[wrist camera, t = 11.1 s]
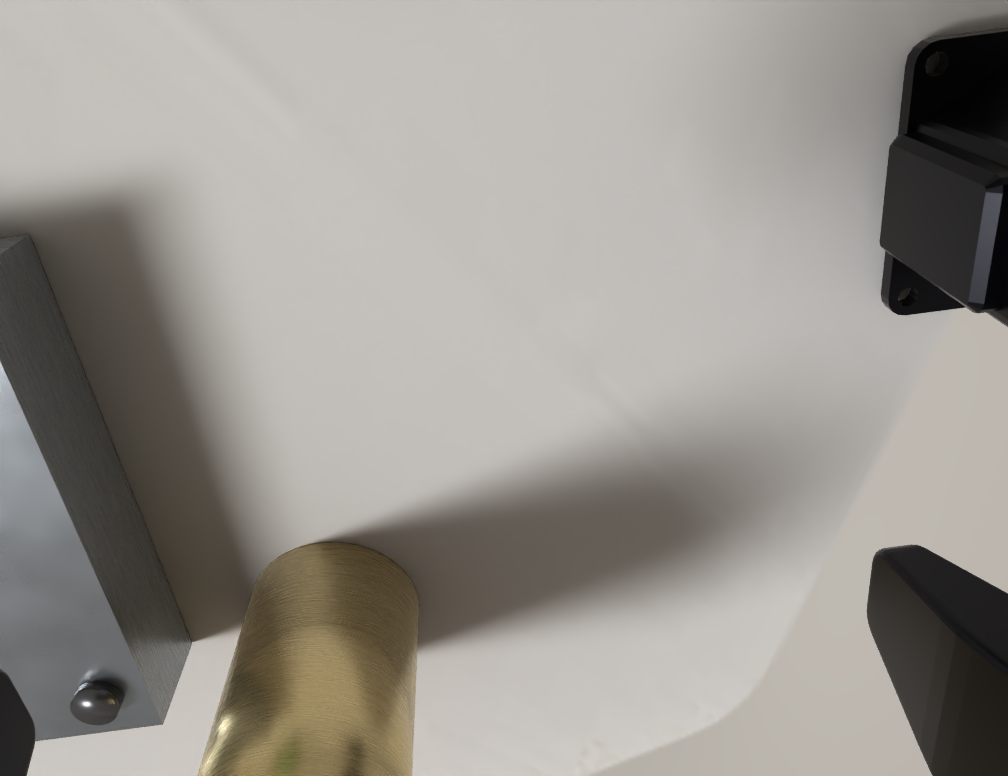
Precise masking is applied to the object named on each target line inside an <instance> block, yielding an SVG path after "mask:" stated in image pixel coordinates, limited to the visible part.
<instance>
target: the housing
mask: <svg viewBox="0 0 1008 776" xmlns="http://www.w3.org/2000/svg"><path fill="white" fill-rule="evenodd" d="M191 645H192V642H191V639H190V637H189V634H188V632H187V629H186V627H185V624H184V622H183V619H182V617H181V614H180V612H179V609H178V607H177V604H176V602H175V599H174V597H173V594H172V592H171V589H170V587H169V584H168V582H167V579H166V577H165V574H164V572H163V569H162V567H161V564H160V561H159V559H158V556H157V554H156V551H155V549H154V546H153V544H152V541H151V539H150V536H149V534H148V531H147V529H146V526H145V524H144V521H143V519H142V516H141V514H140V511H139V509H138V506H137V504H136V501H135V499H134V496H133V494H132V491H131V489H130V486H129V484H128V481H127V479H126V476H125V473H124V471H123V468H122V466H121V463H120V461H119V458H118V456H117V453H116V451H115V448H114V446H113V443H112V441H111V438H110V436H109V433H108V431H107V428H106V426H105V423H104V421H103V418H102V416H101V413H100V411H99V408H98V406H97V403H96V401H95V398H94V396H93V393H92V390H91V388H90V385H89V383H88V380H87V378H86V375H85V373H84V370H83V368H82V365H81V363H80V360H79V358H78V355H77V353H76V350H75V348H74V345H73V343H72V340H71V338H70V335H69V333H68V330H67V328H66V325H65V323H64V320H63V318H62V315H61V313H60V310H59V308H58V305H57V302H56V300H55V297H54V295H53V292H52V290H51V287H50V285H49V282H48V280H47V277H46V275H45V272H44V270H43V267H42V265H41V262H40V260H39V257H38V255H37V252H36V250H35V247H34V245H33V242H32V240H31V237H30V235H29V234H25V235H18V236H10V237H2V238H0V669H1V670H3V671H4V672H6V673H7V675H8V676H9V677H10V679H11V681H12V683H13V685H14V686H15V688H16V690H17V692H18V694H19V695H20V697H21V699H22V701H23V703H24V704H25V706H26V708H27V710H28V712H29V713H30V715H31V717H32V719H33V722H34V726H35V734H36V736H35V741H40V740H48V739H56V738H63V737H71V736H78V735H86V734H93V733H101V732H109V731H116V730H124V729H131V728H139V727H146V726H154V725H161V724H163V723H164V720H165V717H166V715H167V712H168V709H169V706H170V703H171V701H172V698H173V695H174V692H175V690H176V687H177V684H178V681H179V678H180V676H181V673H182V670H183V667H184V664H185V662H186V659H187V656H188V653H189V651H190V648H191Z"/></svg>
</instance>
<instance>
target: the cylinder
mask: <svg viewBox="0 0 1008 776" xmlns="http://www.w3.org/2000/svg"><path fill="white" fill-rule="evenodd" d="M418 621H419V601H418V596H417V593H416V589H415V587H414V585H413V583H412V581H411V580H410V579H409V577H408V576H407V574H406V573H405V572H404V571H403V570H402V569H401V568H400V567H399V566H398V565H397V564H395V563H394V562H393V561H392V560H390V559H389V558H387V557H385V556H384V555H382V554H380V553H378V552H376V551H374V550H371V549H368V548H365V547H362V546H358V545H353V544H347V543H333V542H328V543H317V544H311V545H306V546H303V547H300V548H296V549H294V550H292V551H289V552H287V553H285V554H283V555H282V556H280V557H278V558H277V559H276V560H274V561H273V562H272V563H270V564H269V565H268V566H267V567H266V568H265V570H264V571H263V572H262V573H261V575H260V576H259V578H258V579H257V581H256V584H255V586H254V589H253V592H252V595H251V599H250V602H249V605H248V609H247V612H246V615H245V619H244V622H243V626H242V629H241V632H240V636H239V639H238V642H237V646H236V649H235V652H234V656H233V659H232V662H231V666H230V669H229V672H228V676H227V679H226V682H225V686H224V689H223V692H222V696H221V699H220V702H219V706H218V709H217V712H216V716H215V719H214V722H213V726H212V729H211V732H210V736H209V739H208V743H207V746H206V749H205V753H204V756H203V759H202V763H201V766H200V769H199V773H198V776H412V766H413V741H414V717H415V693H416V669H417V645H418Z"/></svg>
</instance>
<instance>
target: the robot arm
mask: <svg viewBox="0 0 1008 776" xmlns="http://www.w3.org/2000/svg"><path fill="white" fill-rule="evenodd" d="M936 52H937V53H938V55H939V62H938V65H937V67H936V68H935V69H934V70H933V71H932V72H930V73H927V72H926V68H925V65H926V62H927V59H928V58H929V57H930V56H931V55H932V54H934V53H936ZM880 245H881V247H882V248H883V249H885V250H886V251H885V261H884V270H883V279H882V289H881V298H882V301H883V303H884V304H885V306H886V307H888V308H889V309H890V310H891V311H892V312H894V313H896V314H898V315H911V314H919V313H926V312H934V311H942V310H949V309H957V308H964V307H966V308H968V309H969V310H971V311H972V312H974V313H984V312H986V313H988V314H989V315H991V316H992V317H994V318H995V319H997V320H998V321H1000V322H1001V323H1003V324H1004V325H1006V326H1007V327H1008V28H1003V29H995V30H987V31H980V32H972V33H964V34H957V35H949V36H941V37H934V38H929V39H926V40H923V41H921V42H920V43H918V44H917V45H916V46H915V47H914V48H913V49H912V51H911V52H910V53H909V55H908V58H907V61H906V65H905V74H904V83H903V92H902V102H901V111H900V121H899V130H898V136H897V137H896V139H895V140H894V141H893V143H892V144H891V145H890V148H889V157H888V167H887V177H886V186H885V196H884V206H883V215H882V225H881V235H880ZM909 287H910V289H911V290H910V293H909V295H908V296H907V297H906V298H905V299H902V300H898V297H899V294H900V293H901V292H902V291H903V290H904V289H906V288H909ZM867 618H868V624H869V627H870V630H871V633H872V636H873V638H874V640H875V643H876V645H877V648H878V650H879V652H880V655H881V657H882V659H883V662H884V664H885V666H886V669H887V671H888V674H889V676H890V678H891V681H892V683H893V686H894V688H895V690H896V693H897V695H898V697H899V700H900V702H901V704H902V707H903V709H904V712H905V714H906V716H907V719H908V721H909V723H910V726H911V728H912V730H913V733H914V735H915V738H916V740H917V743H918V745H919V747H920V749H921V751H922V754H923V756H924V758H925V761H926V763H927V765H928V767H929V769H930V771H931V773H932V775H933V776H1008V594H1007V593H1006V592H1004V591H1002V590H1000V589H998V588H997V587H995V586H993V585H991V584H989V583H988V582H986V581H984V580H982V579H980V578H979V577H977V576H975V575H973V574H971V573H969V572H968V571H966V570H964V569H962V568H960V567H959V566H956V565H955V564H953V563H951V562H949V561H948V560H946V559H944V558H942V557H940V556H939V555H937V554H935V553H933V552H931V551H929V550H928V549H926V548H924V547H921V546H918V545H905V546H897V547H890V548H883V549H881V550H879V551H878V552H876V554H875V556H874V558H873V562H872V570H871V578H870V586H869V595H868V603H867ZM35 736H36V734H35V726H34V722H33V719H32V717H31V715H30V713H29V712H28V710H27V708H26V706H25V704H24V703H23V701H22V699H21V697H20V695H19V694H18V692H17V690H16V688H15V686H14V685H13V683H12V681H11V679H10V677H9V676H8V675H7V673H6V672H4V671H3V670H1V669H0V776H27V772H28V768H29V764H30V761H31V757H32V753H33V749H34V745H35Z"/></svg>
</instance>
